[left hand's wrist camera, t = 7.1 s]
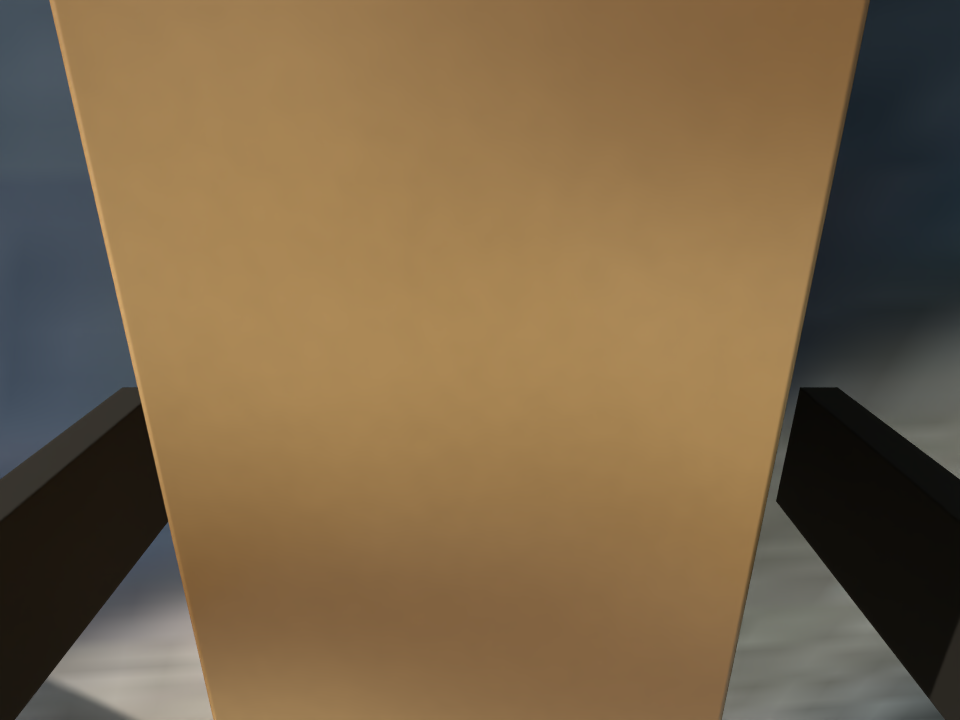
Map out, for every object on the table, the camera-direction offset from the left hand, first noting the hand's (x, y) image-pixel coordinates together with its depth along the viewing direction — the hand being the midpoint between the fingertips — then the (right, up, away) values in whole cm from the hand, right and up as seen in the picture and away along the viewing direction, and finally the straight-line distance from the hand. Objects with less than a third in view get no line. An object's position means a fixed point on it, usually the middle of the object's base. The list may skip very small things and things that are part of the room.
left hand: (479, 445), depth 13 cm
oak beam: (0, +13, -3) cm, 13 cm away
